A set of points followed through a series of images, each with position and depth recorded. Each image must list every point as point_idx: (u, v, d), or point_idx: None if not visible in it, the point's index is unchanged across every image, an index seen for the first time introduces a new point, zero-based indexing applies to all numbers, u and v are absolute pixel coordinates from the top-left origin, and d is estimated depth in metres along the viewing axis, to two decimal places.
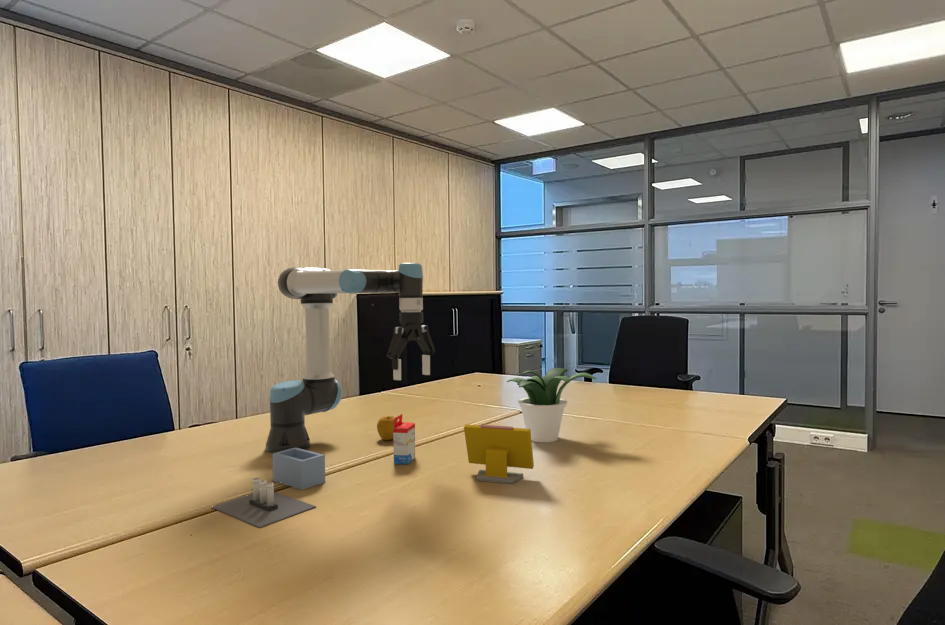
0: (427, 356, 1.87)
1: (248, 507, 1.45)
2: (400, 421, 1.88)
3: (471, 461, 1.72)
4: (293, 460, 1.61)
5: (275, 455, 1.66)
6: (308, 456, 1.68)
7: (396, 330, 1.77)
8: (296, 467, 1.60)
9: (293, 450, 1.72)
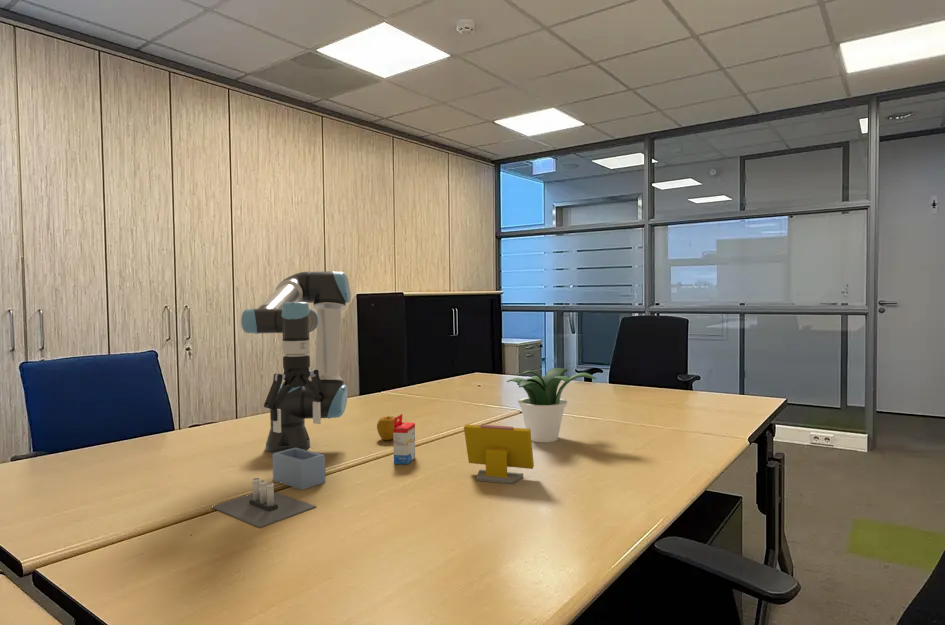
0: (317, 403, 1.70)
1: (248, 507, 1.45)
2: (400, 421, 1.88)
3: (471, 461, 1.72)
4: (293, 460, 1.61)
5: (275, 455, 1.66)
6: (308, 456, 1.68)
7: (276, 377, 1.60)
8: (296, 467, 1.60)
9: (293, 450, 1.72)
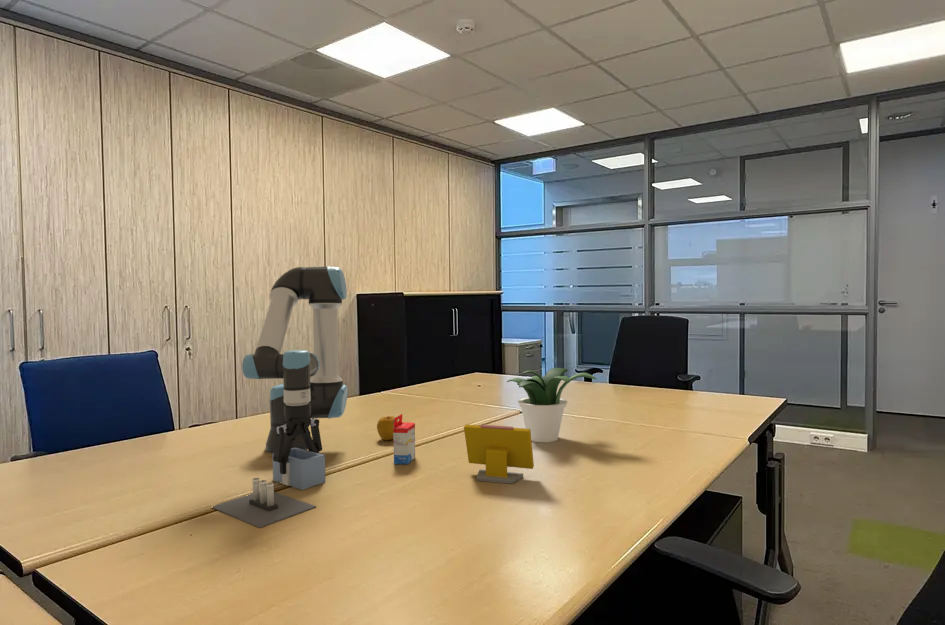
0: None
1: (248, 507, 1.45)
2: (400, 421, 1.88)
3: (471, 461, 1.72)
4: (293, 460, 1.61)
5: None
6: (308, 456, 1.68)
7: (277, 431, 1.60)
8: (296, 467, 1.60)
9: (293, 450, 1.71)
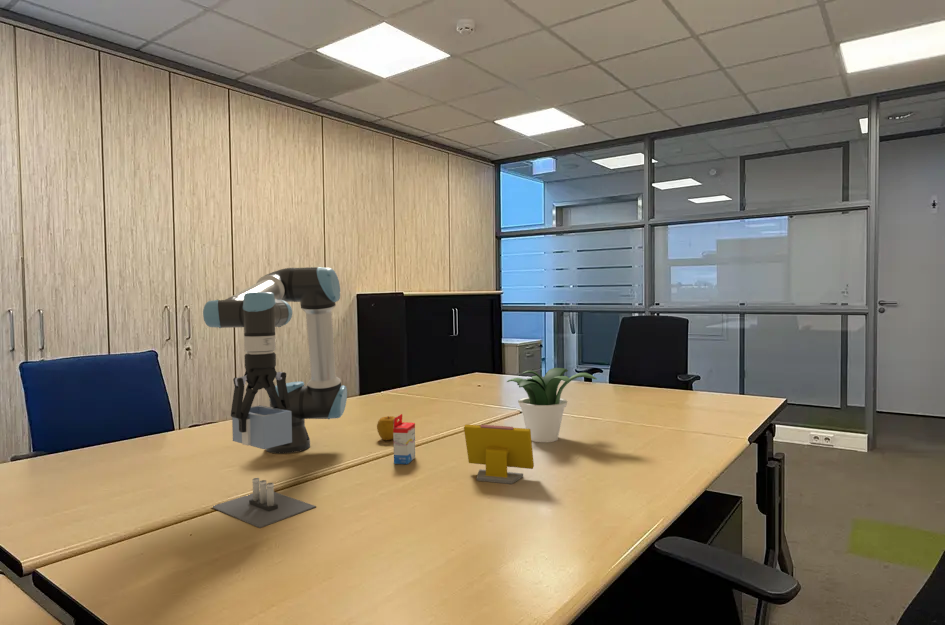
0: None
1: (248, 507, 1.45)
2: (400, 421, 1.88)
3: (471, 461, 1.72)
4: (254, 416, 1.40)
5: None
6: (273, 413, 1.47)
7: (236, 382, 1.40)
8: (257, 424, 1.39)
9: (257, 408, 1.51)
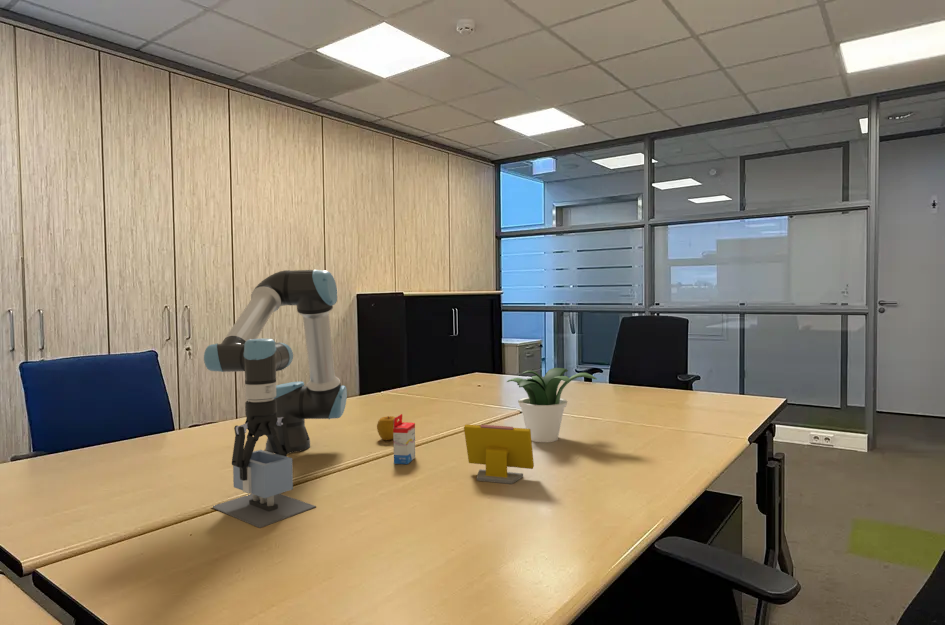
0: None
1: (248, 507, 1.45)
2: (400, 421, 1.88)
3: (471, 461, 1.72)
4: (255, 464, 1.40)
5: None
6: (274, 459, 1.47)
7: (237, 431, 1.40)
8: (258, 472, 1.40)
9: (258, 453, 1.51)
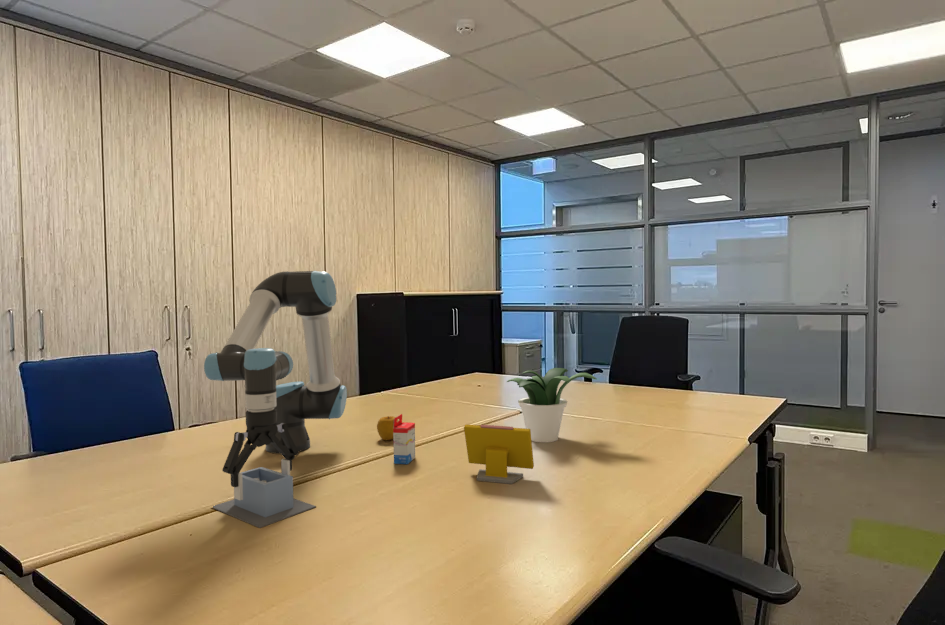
0: (286, 462, 1.50)
1: None
2: (400, 421, 1.88)
3: (471, 461, 1.72)
4: (255, 483, 1.41)
5: None
6: (274, 477, 1.47)
7: (236, 436, 1.40)
8: (259, 491, 1.40)
9: (258, 470, 1.51)
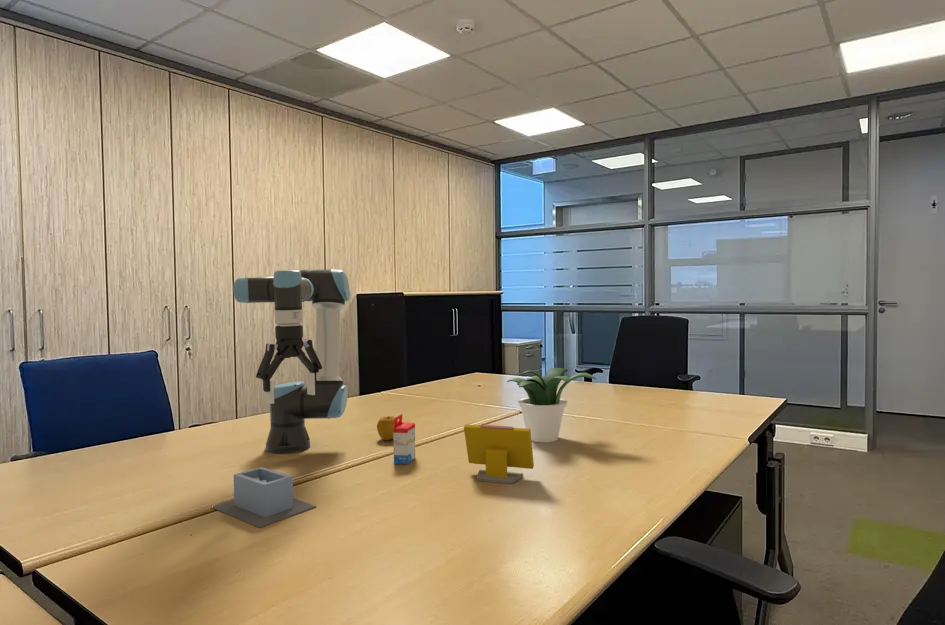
0: (311, 374, 1.66)
1: None
2: (400, 421, 1.88)
3: (471, 461, 1.72)
4: (255, 483, 1.41)
5: (236, 476, 1.46)
6: (274, 477, 1.47)
7: (268, 347, 1.56)
8: (259, 491, 1.40)
9: (258, 470, 1.51)
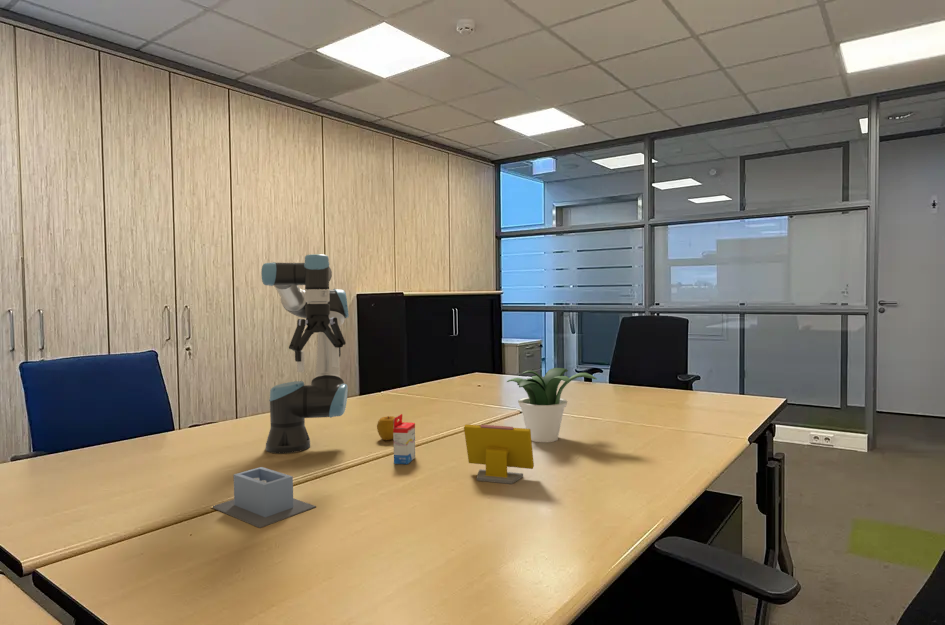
0: (336, 348, 1.86)
1: None
2: (400, 421, 1.88)
3: (471, 461, 1.72)
4: (255, 483, 1.41)
5: (236, 476, 1.46)
6: (274, 477, 1.47)
7: (299, 322, 1.75)
8: (259, 491, 1.40)
9: (258, 470, 1.51)
